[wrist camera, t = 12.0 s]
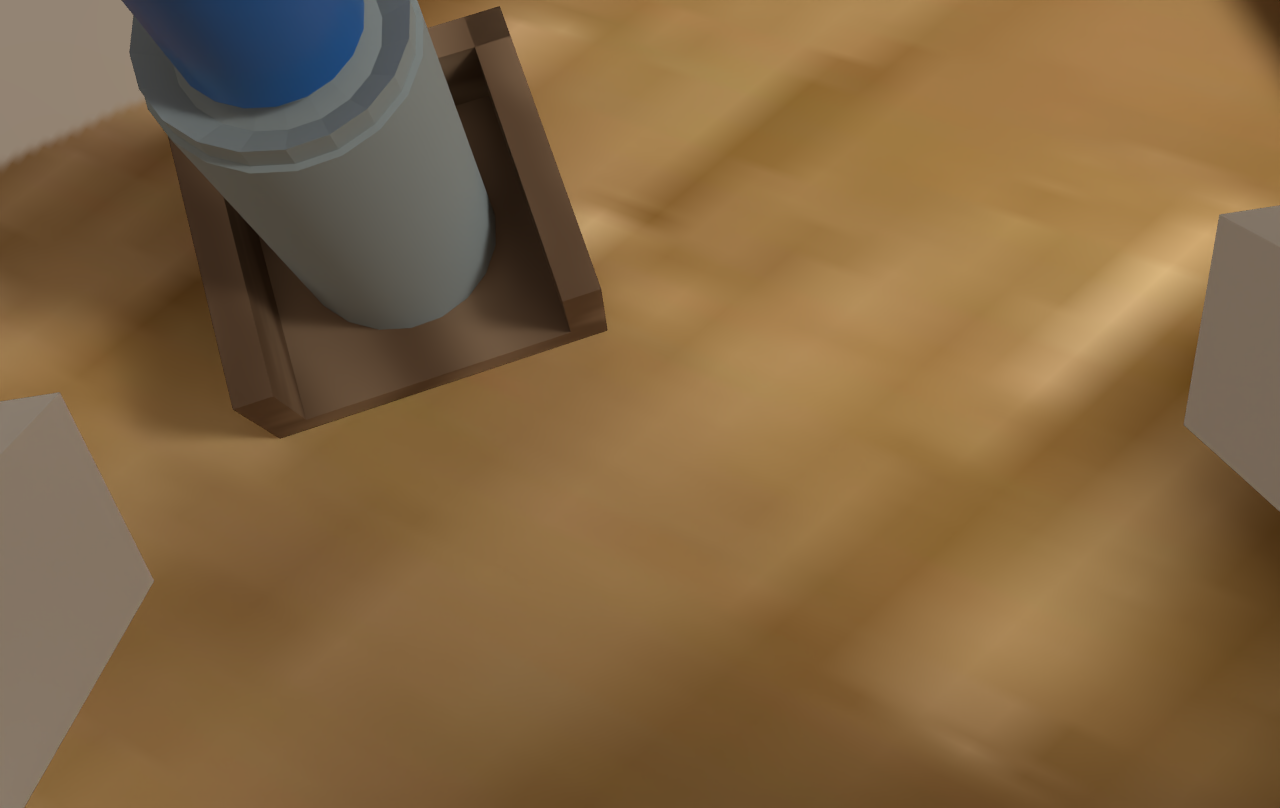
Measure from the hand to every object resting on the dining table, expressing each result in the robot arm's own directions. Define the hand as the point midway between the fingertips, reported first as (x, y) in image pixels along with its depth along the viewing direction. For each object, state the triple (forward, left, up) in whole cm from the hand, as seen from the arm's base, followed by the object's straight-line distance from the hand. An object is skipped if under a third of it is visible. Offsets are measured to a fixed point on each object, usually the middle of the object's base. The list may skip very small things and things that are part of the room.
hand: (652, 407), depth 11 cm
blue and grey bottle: (+6, -19, -28) cm, 35 cm away
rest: (+6, -19, -29) cm, 35 cm away
